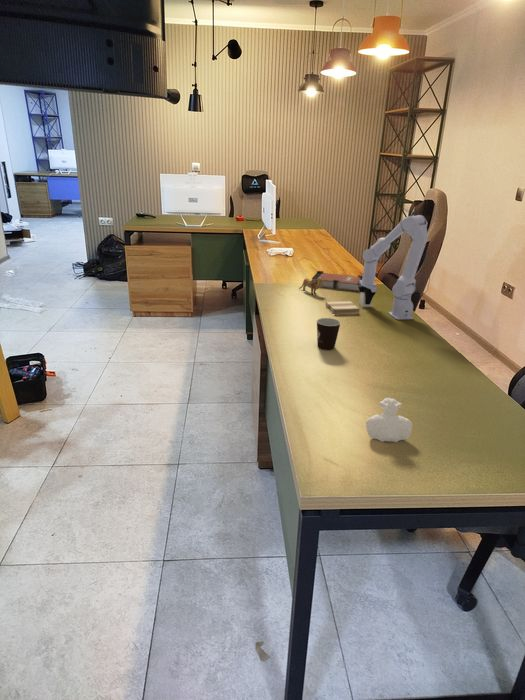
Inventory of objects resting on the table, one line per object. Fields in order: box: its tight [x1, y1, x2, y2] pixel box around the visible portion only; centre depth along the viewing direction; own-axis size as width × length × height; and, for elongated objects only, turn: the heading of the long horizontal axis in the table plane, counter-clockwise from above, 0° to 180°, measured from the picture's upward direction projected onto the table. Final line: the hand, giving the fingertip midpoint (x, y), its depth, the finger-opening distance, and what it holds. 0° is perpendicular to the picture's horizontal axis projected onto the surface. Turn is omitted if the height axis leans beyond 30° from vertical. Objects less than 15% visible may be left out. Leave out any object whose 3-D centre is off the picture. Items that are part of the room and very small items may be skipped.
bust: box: [365, 397, 413, 443], centre depth 124 cm, size 12×8×11 cm
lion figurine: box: [298, 278, 323, 295], centre depth 244 cm, size 15×5×9 cm, turn 45°
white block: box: [358, 291, 373, 308], centre depth 228 cm, size 4×4×6 cm
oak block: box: [325, 300, 361, 316], centre depth 220 cm, size 12×12×3 cm
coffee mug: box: [316, 317, 341, 351], centre depth 179 cm, size 12×9×10 cm
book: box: [311, 270, 363, 292], centre depth 261 cm, size 26×18×5 cm
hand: (365, 302), depth 228 cm, fingers closed on white block, 4 cm apart
